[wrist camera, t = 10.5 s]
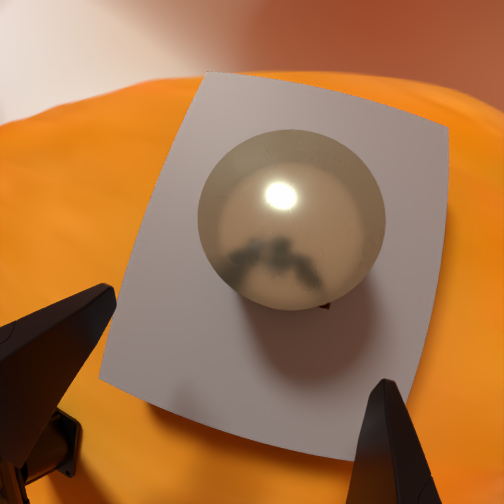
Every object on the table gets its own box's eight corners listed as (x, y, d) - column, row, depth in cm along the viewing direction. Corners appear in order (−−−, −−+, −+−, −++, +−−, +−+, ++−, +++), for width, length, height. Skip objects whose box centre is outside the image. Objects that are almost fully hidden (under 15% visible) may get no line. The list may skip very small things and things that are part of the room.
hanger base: (361, 433, 17) (380, 464, 13) (136, 366, 20) (98, 378, 15) (421, 161, 21) (448, 127, 16) (221, 112, 23) (207, 71, 18)
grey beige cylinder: (327, 323, 18) (363, 331, 9) (223, 294, 19) (173, 278, 10) (351, 222, 19) (395, 154, 10) (253, 197, 20) (230, 116, 11)
